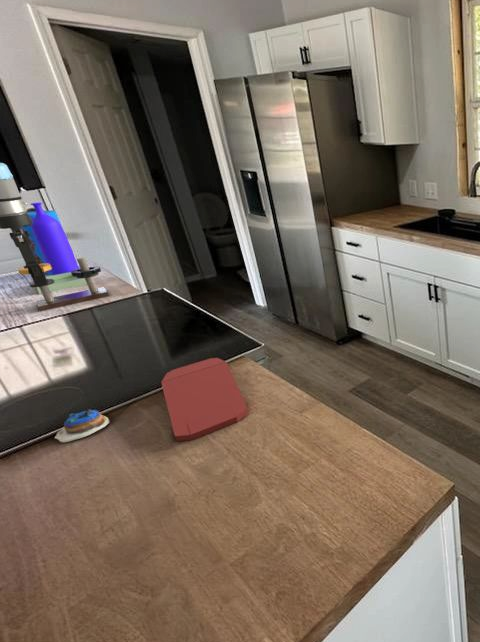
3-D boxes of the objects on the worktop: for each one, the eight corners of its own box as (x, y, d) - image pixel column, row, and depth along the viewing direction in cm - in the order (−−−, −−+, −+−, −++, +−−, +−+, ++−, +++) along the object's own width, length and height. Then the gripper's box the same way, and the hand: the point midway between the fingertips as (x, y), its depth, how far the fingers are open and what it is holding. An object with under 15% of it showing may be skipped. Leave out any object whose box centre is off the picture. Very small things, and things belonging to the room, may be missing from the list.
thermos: (36, 274, 171) (9, 215, 162) (67, 266, 181) (43, 210, 172) (55, 276, 169) (28, 216, 160) (85, 268, 178) (62, 210, 169)
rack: (40, 312, 135) (20, 270, 130) (39, 306, 140) (20, 265, 135) (109, 296, 147) (94, 258, 142) (106, 291, 152) (91, 254, 147)
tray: (37, 285, 159) (34, 278, 158) (84, 276, 168) (82, 270, 167) (39, 294, 150) (36, 287, 149) (89, 284, 159) (86, 278, 158)
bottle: (53, 276, 169) (21, 203, 158) (81, 271, 175) (52, 200, 164) (52, 281, 164) (18, 205, 153) (81, 275, 169) (51, 202, 158)
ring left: (12, 274, 132) (10, 270, 131) (34, 267, 138) (32, 263, 138) (37, 274, 132) (35, 270, 132) (58, 267, 139) (56, 263, 139)
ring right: (66, 277, 141) (64, 273, 140) (84, 270, 147) (82, 266, 147) (89, 276, 141) (87, 272, 141) (106, 269, 148) (104, 265, 148)
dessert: (121, 413, 85) (94, 404, 80) (105, 446, 82) (76, 439, 77) (85, 415, 86) (56, 407, 81) (67, 448, 82) (36, 441, 77)
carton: (254, 428, 87) (226, 367, 102) (249, 411, 85) (221, 351, 100) (183, 458, 79) (164, 386, 95) (175, 440, 77) (158, 370, 92)
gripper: (29, 216, 125) (59, 286, 133) (27, 208, 137) (55, 273, 146) (-9, 220, 120) (25, 293, 128) (-8, 212, 132) (23, 278, 140)
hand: (41, 282), depth 137 cm, fingers closed on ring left, 7 cm apart
